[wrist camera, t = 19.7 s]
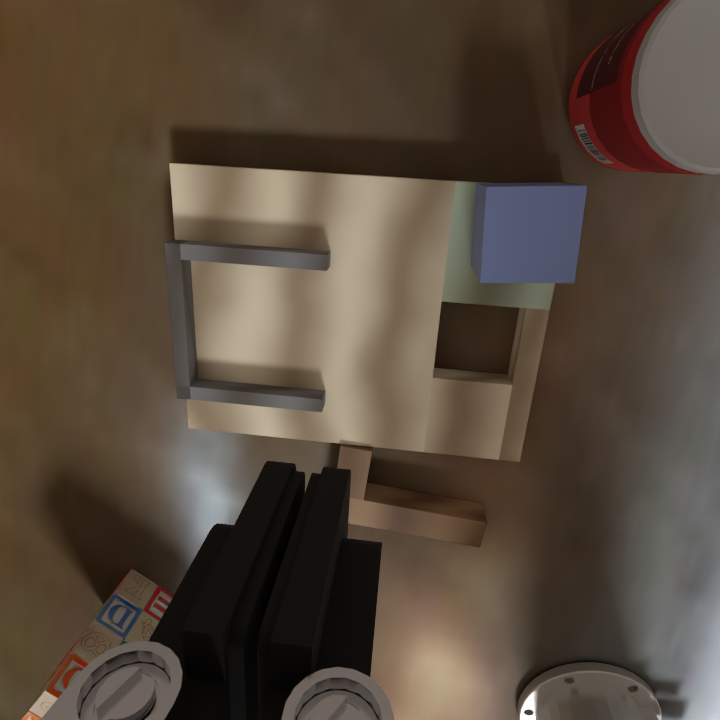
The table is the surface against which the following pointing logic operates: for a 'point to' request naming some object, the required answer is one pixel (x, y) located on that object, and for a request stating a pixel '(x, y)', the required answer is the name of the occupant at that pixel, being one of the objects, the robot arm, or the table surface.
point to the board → (339, 311)
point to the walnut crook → (408, 506)
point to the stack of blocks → (107, 634)
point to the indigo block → (527, 232)
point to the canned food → (654, 92)
